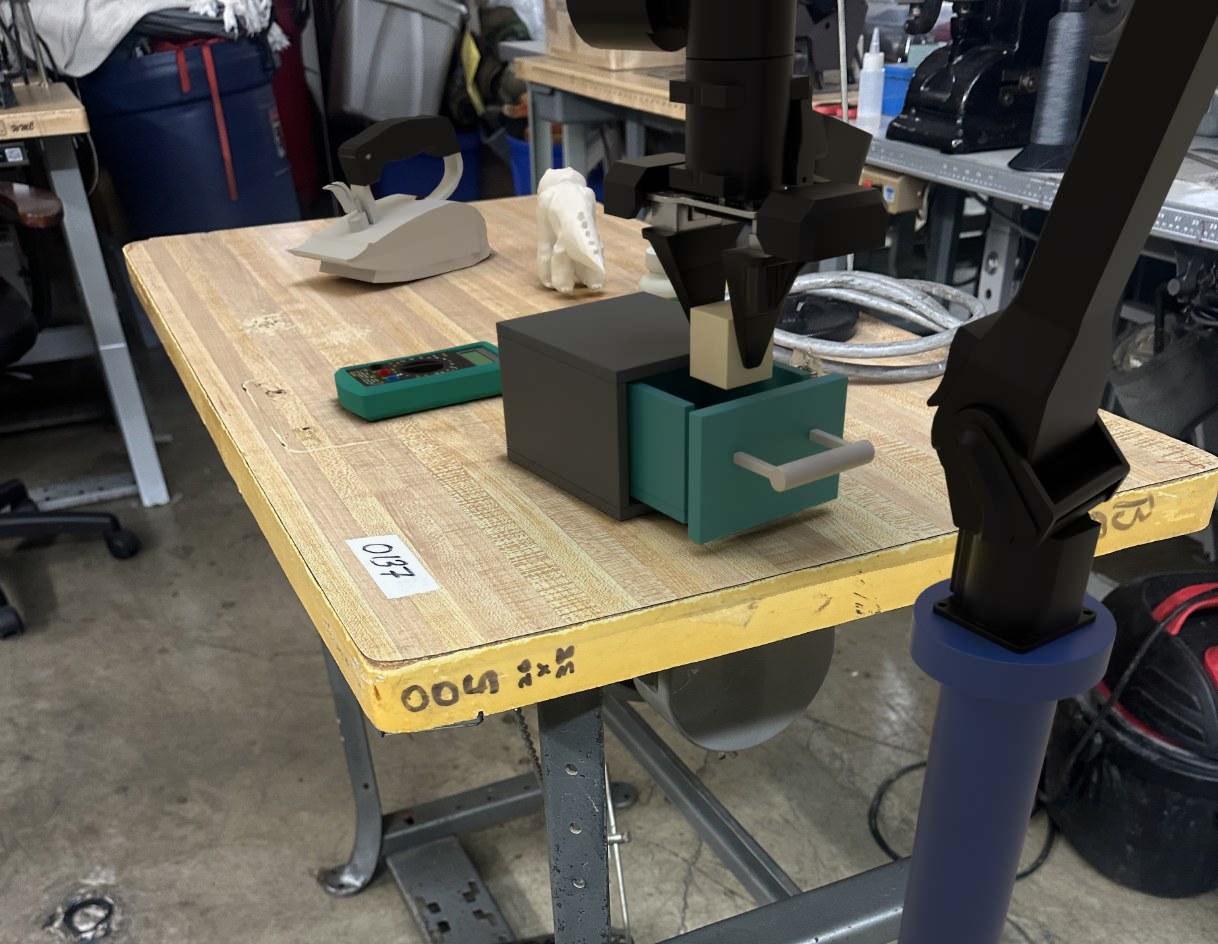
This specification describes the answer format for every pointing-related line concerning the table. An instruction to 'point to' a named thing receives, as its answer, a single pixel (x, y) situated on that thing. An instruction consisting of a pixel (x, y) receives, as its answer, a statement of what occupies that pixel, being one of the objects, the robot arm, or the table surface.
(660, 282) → the supplement bottle
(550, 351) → the drawer cabinet
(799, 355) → the small metal piece
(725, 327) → the block
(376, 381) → the digital multimeter
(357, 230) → the iron
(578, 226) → the toy dinosaur
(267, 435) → the table surface
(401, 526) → the table surface
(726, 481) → the teal drawer
